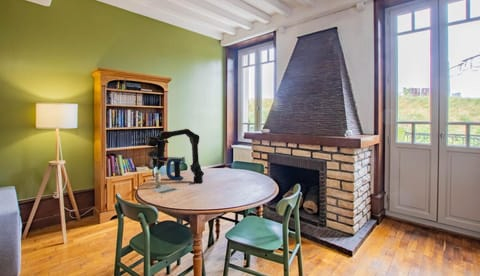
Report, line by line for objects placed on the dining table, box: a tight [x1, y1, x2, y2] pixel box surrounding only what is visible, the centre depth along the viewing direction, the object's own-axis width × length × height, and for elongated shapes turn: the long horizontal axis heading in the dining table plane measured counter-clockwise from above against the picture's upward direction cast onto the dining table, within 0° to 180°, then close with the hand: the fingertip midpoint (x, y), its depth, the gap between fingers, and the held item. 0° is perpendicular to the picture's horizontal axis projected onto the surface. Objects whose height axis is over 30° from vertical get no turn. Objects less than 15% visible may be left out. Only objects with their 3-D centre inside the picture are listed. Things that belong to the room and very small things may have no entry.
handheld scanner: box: [165, 156, 186, 181], centre depth 223 cm, size 5×16×20 cm, turn 78°
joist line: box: [158, 187, 178, 194], centre depth 185 cm, size 12×4×1 cm, turn 139°
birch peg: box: [154, 171, 162, 188], centre depth 193 cm, size 4×4×11 cm
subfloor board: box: [147, 184, 181, 195], centre depth 190 cm, size 20×14×2 cm
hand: (155, 168), depth 192 cm, fingers open, 9 cm apart
